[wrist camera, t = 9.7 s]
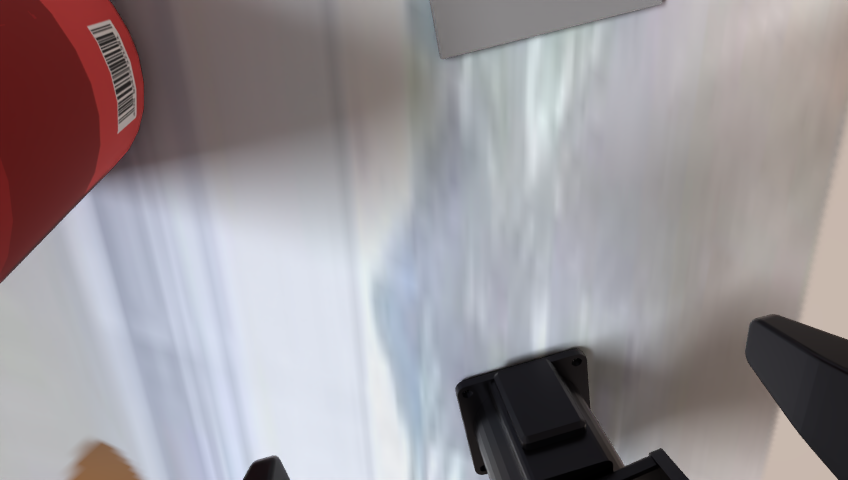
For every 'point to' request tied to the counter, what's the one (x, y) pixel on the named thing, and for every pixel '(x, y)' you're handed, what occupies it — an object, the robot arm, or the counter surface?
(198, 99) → the counter surface
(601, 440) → the robot arm
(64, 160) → the canned food
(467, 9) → the slate mat
